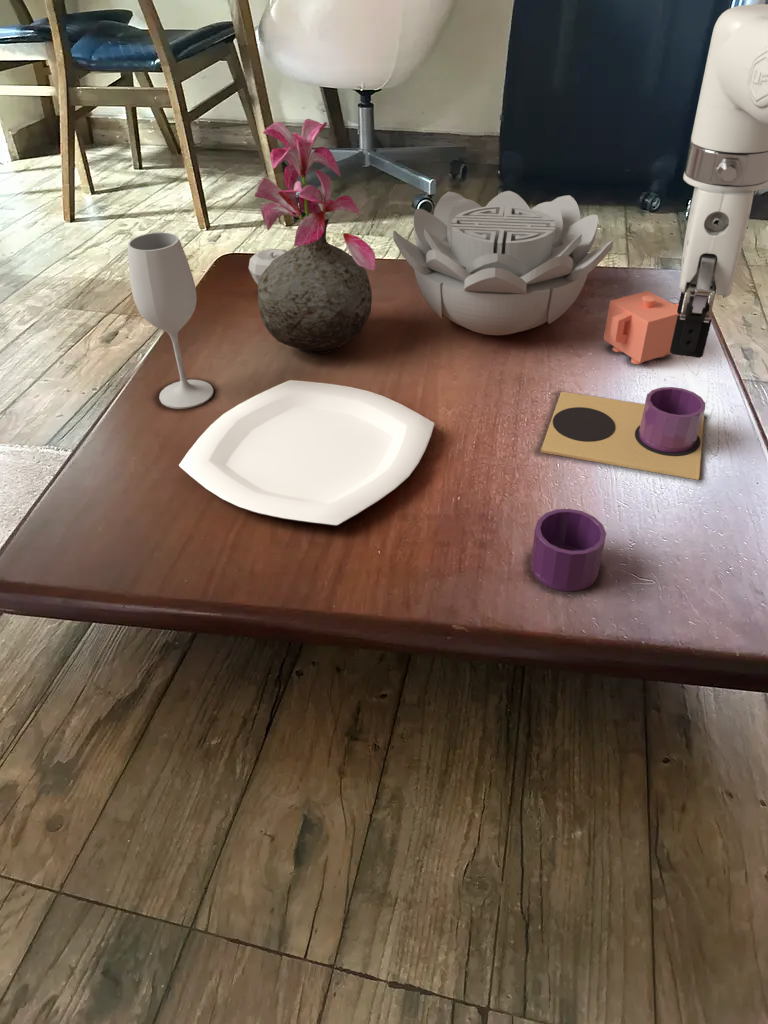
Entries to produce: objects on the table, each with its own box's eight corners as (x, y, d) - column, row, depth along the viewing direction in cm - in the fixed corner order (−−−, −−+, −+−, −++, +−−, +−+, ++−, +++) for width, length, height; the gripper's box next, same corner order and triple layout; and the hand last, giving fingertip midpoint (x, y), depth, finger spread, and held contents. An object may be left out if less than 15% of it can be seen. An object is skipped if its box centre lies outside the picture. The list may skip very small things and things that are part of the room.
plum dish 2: (696, 426, 96) (706, 391, 93) (694, 457, 91) (704, 421, 88) (641, 418, 98) (648, 383, 94) (635, 447, 93) (643, 411, 90)
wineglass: (221, 381, 108) (193, 230, 95) (206, 410, 103) (174, 254, 89) (168, 379, 109) (133, 229, 96) (150, 408, 103) (111, 253, 90)
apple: (241, 292, 131) (236, 254, 127) (275, 276, 135) (271, 239, 131) (275, 304, 127) (270, 265, 123) (309, 288, 131) (305, 250, 127)
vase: (276, 316, 123) (250, 108, 104) (386, 318, 122) (380, 107, 103) (252, 369, 111) (218, 143, 91) (375, 373, 109) (366, 143, 90)
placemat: (703, 415, 99) (704, 412, 98) (698, 480, 89) (699, 476, 88) (560, 393, 104) (561, 390, 103) (540, 452, 93) (541, 449, 93)
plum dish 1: (602, 553, 80) (609, 516, 76) (593, 598, 75) (600, 560, 72) (537, 540, 81) (542, 503, 78) (524, 583, 77) (529, 545, 73)
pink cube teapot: (693, 352, 111) (707, 298, 106) (626, 373, 107) (637, 317, 102) (655, 330, 116) (667, 277, 111) (590, 349, 113) (599, 295, 107)
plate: (461, 430, 97) (462, 417, 96) (344, 560, 80) (343, 546, 79) (287, 379, 108) (285, 366, 107) (150, 483, 91) (146, 469, 89)
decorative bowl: (381, 363, 111) (378, 260, 101) (413, 278, 134) (412, 187, 124) (599, 377, 106) (618, 271, 97) (594, 286, 129) (608, 193, 119)
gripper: (773, 196, 65) (723, 377, 76) (771, 142, 77) (728, 305, 88) (679, 189, 67) (643, 366, 78) (692, 138, 80) (659, 297, 90)
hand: (688, 333), depth 83 cm, fingers open, 9 cm apart
